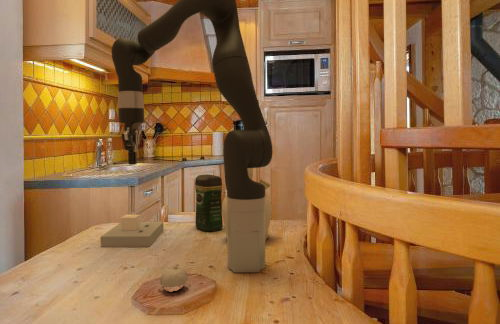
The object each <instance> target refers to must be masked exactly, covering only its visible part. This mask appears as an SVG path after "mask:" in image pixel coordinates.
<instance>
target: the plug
mask: <svg viewBox="0 0 500 324" xmlns="http://www.w3.org/2000/svg"><path fill="white" fill-rule="evenodd" d="M140 222H141V215H140V214H124V215H123V216H121V217H120V223H121V231H136V230H137V229H138V228H140Z"/></svg>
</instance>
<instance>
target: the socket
mask: <svg viewBox="0 0 500 324" xmlns="http://www.w3.org/2000/svg"><path fill="white" fill-rule="evenodd" d="M163 232H164V221H144V222H143V221H140V228H138V229H137V230H136V231H121V222H120V223H118V224H117V225H115V226H114V227H112V228H110V229H109V230H108V231H107V232H105V233H104V234H102V235H101V236H100V247H101V248H107V247H108V248H109V247H110V248H114V247H117V248H118V247H119V248H120V247H121V248H126V247H127V248H128V247H129V248H131V247H132V248H136V247H138V248H139V247H141V248H144V247H147V248H149V247H151V246H152V245H153V244H154V243H155V241H156V240H157V239H158V238H159V237H160V235H161V234H162V233H163Z"/></svg>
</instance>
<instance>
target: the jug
mask: <svg viewBox="0 0 500 324" xmlns="http://www.w3.org/2000/svg"><path fill="white" fill-rule="evenodd" d="M247 169H248V176H249V178H250V179H251V180H253V176H254V168H247ZM258 183H261V184H263V185H264V186H265V241H267V238H268V234H269V228H270V224H271V219H272V211H273V209H272V208H273V207H272V201H271V198H270V196H269V195H268V193H267V192H266V190H267V189H268V188H270V187H271V184H270V183H269V182H267V180H264V179H263V178H260V179H259V182H258ZM225 186H226V184H225ZM225 190H226V191H227V189H226V188H225ZM222 221H223V226H224V230H225V233H226V235H227V194H226V195H225V197H224V199H223V201H222Z"/></svg>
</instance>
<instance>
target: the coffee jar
mask: <svg viewBox="0 0 500 324" xmlns="http://www.w3.org/2000/svg"><path fill="white" fill-rule="evenodd" d="M222 180H223V179H222V177H220V176H219V175H213V174H208V173H207V174H206V173H205V174H198V175H197V176H196V178H195V181H194V189H195V228H196V229H197V230H198V229H199V230H201V231H204V232H209V231H211V232H216V231H219V230H221V229H222V228H223V226H224V221H223V214H222V204H223V201H222V190H223V181H222Z"/></svg>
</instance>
